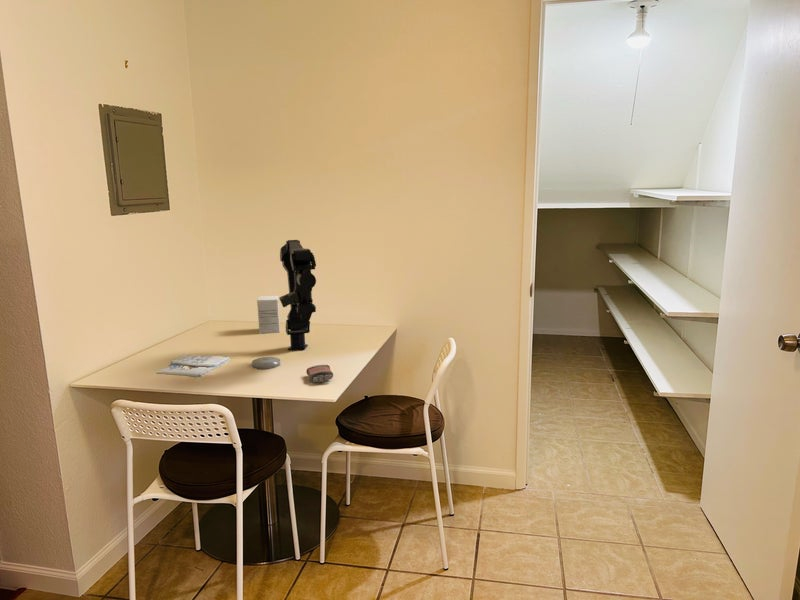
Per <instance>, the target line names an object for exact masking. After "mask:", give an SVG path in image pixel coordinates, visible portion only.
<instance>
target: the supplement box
mask: <svg viewBox="0 0 800 600" xmlns="http://www.w3.org/2000/svg"><path fill="white" fill-rule="evenodd" d="M256 303H257V318H258V332H259V334H260V333H261V334H274V333H280V331H281V324H280V307H279V296H278V295H261V296H260V295H259V296H258V297H257V300H256Z"/></svg>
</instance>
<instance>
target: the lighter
mask: <svg viewBox="0 0 800 600" xmlns="http://www.w3.org/2000/svg"><path fill="white" fill-rule="evenodd" d="M305 372H306V375H307V376H308V380H309V382H311V383H322V382H327V381H329V380H332V379H333V377H334V373H333V371H332V369H331V367H330V366H329V365H328V364H318V365H313V366H310V367H307V369H306V371H305Z"/></svg>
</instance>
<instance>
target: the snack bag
mask: <svg viewBox="0 0 800 600" xmlns="http://www.w3.org/2000/svg"><path fill="white" fill-rule="evenodd" d="M231 360H232V359H230V357H229V356H222V355H221V356H216V355H215V356H214V355H213V356H212V355H193V354H192V355H191V354H186V355H184V356H180V357H179V358H177V359H174V360H172V361H170V365H168V366H167V367H165V368H163V369H160V370H158V371H156V374H159V373H167V374H166V375H172V374H179V375H178V376H184V375H188V377H192V376H195V377H196V378H199V377H200V378H202V377H203V376H204V374H205V373H207V372H208V373H210V372H212V371H214V370H216V369H218V368H220V367H222V366H223V364H224V365H226V364H228V363H230V362H231ZM229 361H230V362H229ZM227 362H228V363H227ZM225 363H226V364H225ZM221 365H222V366H221ZM184 366H190V367H192V366H195V367H192V368H193V369H185V368H183V367H184ZM219 366H220V367H219ZM197 367H206V368H197ZM217 367H218V368H217ZM215 368H216V369H215ZM213 369H214V370H213ZM211 370H212V371H211ZM209 371H210V372H209ZM208 373H207V374H208ZM202 375H203V376H202ZM205 375H206V374H205Z"/></svg>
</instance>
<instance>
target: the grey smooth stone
mask: <svg viewBox="0 0 800 600" xmlns="http://www.w3.org/2000/svg"><path fill="white" fill-rule="evenodd" d="M279 366H281V359H280V358H279V357H276V356H264V357H262V356H261V357H258V358H255V359H253V360H252V361H251V367H252V369H255V368H257V369H256V370H270V369H275V368H278V367H279Z"/></svg>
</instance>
